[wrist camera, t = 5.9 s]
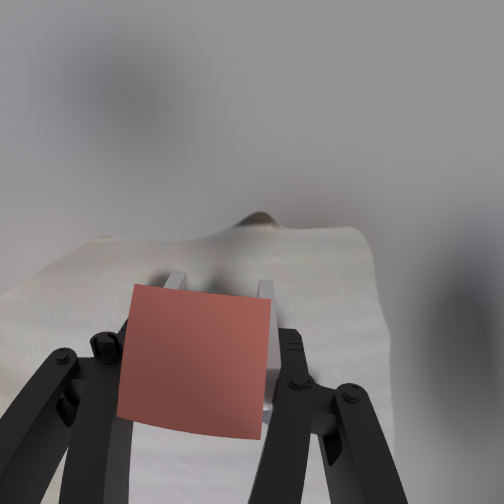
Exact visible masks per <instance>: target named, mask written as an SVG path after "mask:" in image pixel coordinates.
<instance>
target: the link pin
mask: <svg viewBox="0 0 504 504" xmlns="http://www.w3.org/2000/svg"><path fill="white" fill-rule="evenodd" d="M270 313H271V299H264V298H253V297H242V296H232V295H222V294H212V293H203V292H194V291H186V290H178V289H170V288H162V287H154V286H147V285H140V284H135V285H134V290H133V295H132V300H131V306H130V311H129V317H128V323H127V329H126V336H125V342H124V350H123V357H122V365H121V374H120V383H119V394H118V407H117V417H120V418H124V419H127V420H131V421H135V422H139V423H143V424H148V425H152V426H157V427H161V428H166V429H171V430H177V431H183V432H189V433H195V434H202V435H210V436H218V437H228V438H239V439H254V440H260V438H261V427H262V416H263V405H264V393H265V381H266V368H267V355H268V342H269V328H270Z"/></svg>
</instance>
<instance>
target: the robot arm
mask: <svg viewBox="0 0 504 504" xmlns="http://www.w3.org/2000/svg"><path fill="white" fill-rule="evenodd" d="M163 288H170V289H178V290H186V272H177V271H173V272H172V273H171V275H170V277H169V278H168V280H167V282H166V283H165V285H164V286H163ZM257 298H264V299H271V313H270V328H269V342H268V355H267V368H266V381H265V393H264V405H263V410H271V406H272V415H271V418H270V422H269V426H268V431H267V435H266V439H265V443H264V446H263V450H262V454H261V458H260V462H259V465H258V469H257V473H256V476H255V480H254V483H253V487H252V490H251V494H250V497H249V500H248V504H301V498H302V492H303V486H304V480H305V473H306V466H307V459H308V452H309V444H310V435H311V433H313V434H317V435H318V440H319V445H320V450H321V455H322V460H323V465H324V470H325V475H326V480H327V485H328V491H329V496H330V501H331V504H408V502H407V499H406V496H405V493H404V490H403V487H402V484H401V481H400V478H399V475H398V472H397V469H396V467H395V464H394V461H393V458H392V455H391V453H390V450H389V447H388V445H387V442H386V439H385V437H384V434H383V431H382V429H381V426H380V424H379V421H378V419H377V416H376V414H375V411H374V409H373V406H372V404H371V401H370V399H369V396H368V394H367V392H366V391H365V389H363V388H362V387H361V386H359V385H356V384H352V383H346V384H342V385H340V386H339V387H337V389H336V390H335V389H331V388H326V387H323V386H320V385H318V384H317V383H315V381H314V379H313V378H312V377H311V376H310V375H309V373H308V368H307V362H306V357H305V352H304V347H303V342H302V337H301V335H300V334H299V333H298V331H297V330H296V329H286V328H278V326H277V316H276V306H275V296H274V286H273V281H266V280H259V285H258V293H257ZM127 323H128V319H127V320H126V322H125V323H124V325H123V326H122V328H121V330H120V331H119V332H118V334H116V333H113V332H101V333H97V334H96V335H94V336H93V337H92V338H91V339H90V344H91V347H92V351H93V354H94V357H90V358H85V357H77V355H76V353H75V351H74V350H72V349H70V348H59V349H57V350H55V351H53V352H52V353H51V354H50V355H49V356H48V358H47V359H46V360H45V361H44V362H43V364H42V365H41V366H40V367H39V369H38V370H37V371H36V372H35V373H34V375H33V376H32V377H31V379H30V380H29V381H28V382H27V384H26V385H25V386H24V387H23V389H22V390H21V391H20V393H19V394H18V395H17V397H16V398H15V399H14V401H13V402H12V403H11V405H10V406H9V407H8V409H7V410H6V412H5V413H4V414H3V416H2V417H1V419H0V504H40V503H41V501H42V499H43V497H44V494H45V492H46V490H47V488H48V486H49V484H50V482H51V480H52V477H53V475H54V473H55V471H56V469H57V467H58V465H59V463H60V461H61V459H62V457H63V455H64V454H65V452H66V450H67V448H68V451H67V456H66V461H65V466H64V471H63V477H62V483H61V490H60V497H59V504H128V496H129V470H130V455H131V442H132V431H133V421H131V420H127V419H124V418H120V417H117V407H118V394H119V383H120V374H121V365H122V357H123V350H124V342H125V336H126V329H127ZM68 446H69V447H68Z"/></svg>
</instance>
